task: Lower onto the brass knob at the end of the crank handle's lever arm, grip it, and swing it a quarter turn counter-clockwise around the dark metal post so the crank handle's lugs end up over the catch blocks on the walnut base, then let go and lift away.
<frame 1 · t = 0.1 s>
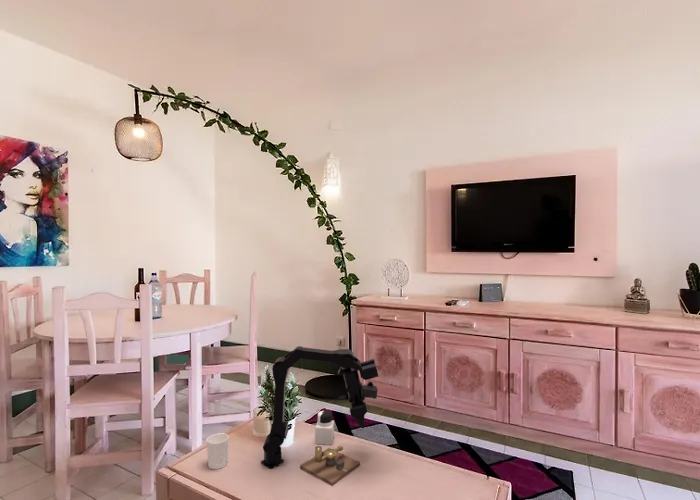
hand: (362, 422, 145), 15 cm above the table, tool pointing down, fingers open, 9 cm apart
post base: (330, 466, 141), on the table
crank handle: (329, 449, 141), point 7 cm above the table, hinge at 0.0°
medicine bottle: (324, 440, 161), on the table
white cup: (217, 465, 143), on the table
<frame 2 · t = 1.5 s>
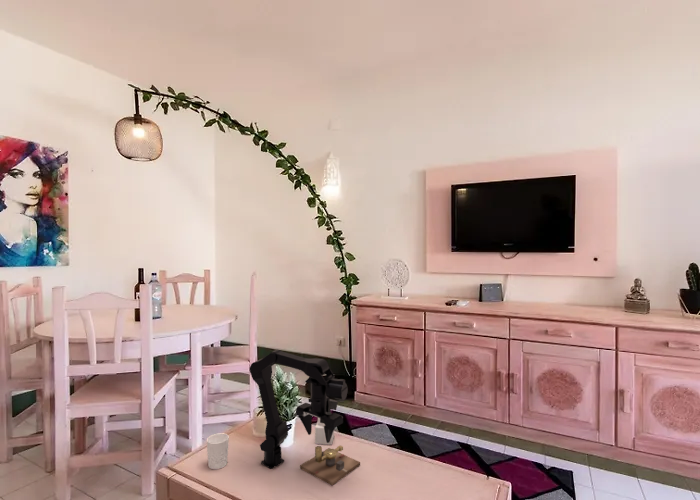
hand: (318, 438, 137), 13 cm above the table, tool pointing down, fingers open, 9 cm apart
nothing on the table moved.
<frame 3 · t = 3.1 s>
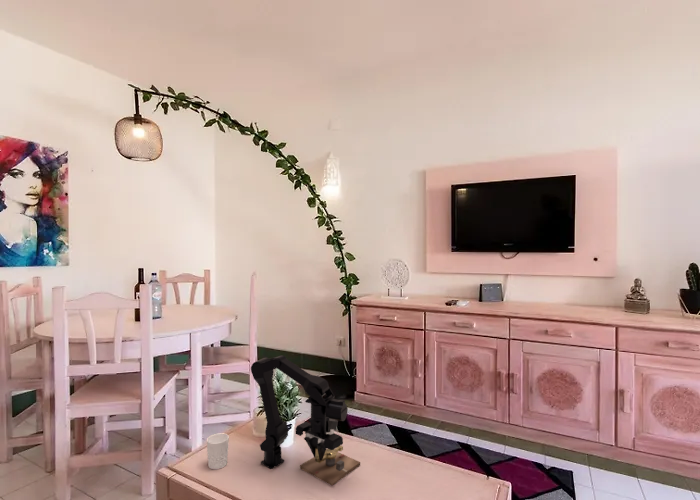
hand: (318, 458, 136), 6 cm above the table, tool pointing down, fingers closed on crank handle, 2 cm apart
crank handle: (329, 449, 141), point 7 cm above the table, hinge at 0.0°, touching gripper
everything else where it was.
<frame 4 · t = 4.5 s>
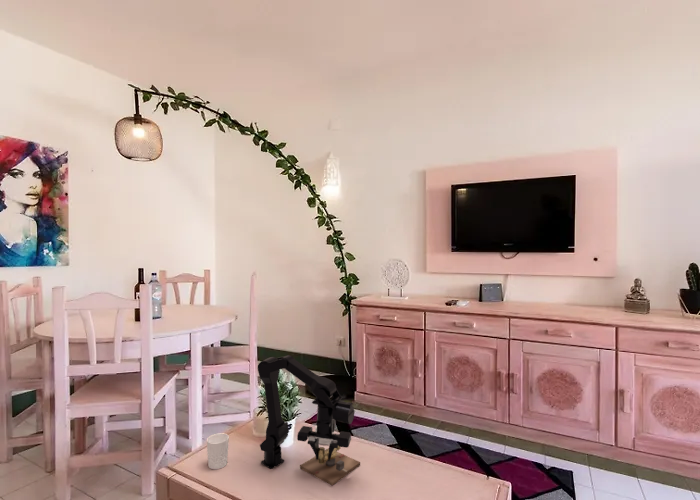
hand: (323, 459, 136), 6 cm above the table, tool pointing down, fingers open, 4 cm apart
crank handle: (329, 449, 141), point 7 cm above the table, hinge at 11.8°, touching gripper
everything else where it was.
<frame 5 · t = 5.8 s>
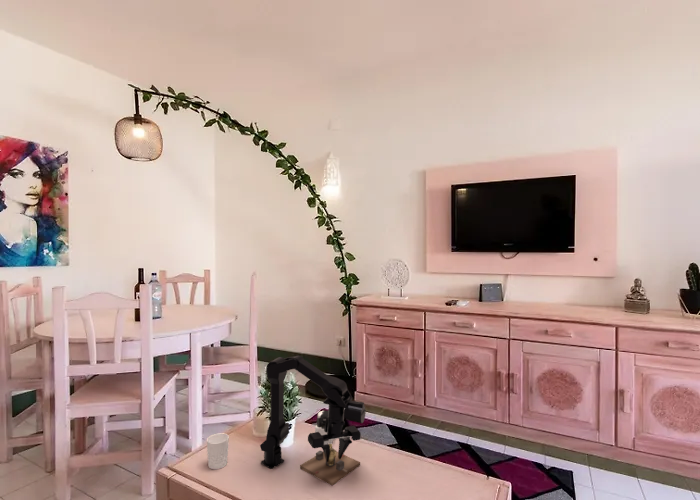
hand: (333, 459, 136), 6 cm above the table, tool pointing down, fingers open, 4 cm apart
crank handle: (330, 449, 141), point 7 cm above the table, hinge at 43.6°, touching gripper
everything else where it was.
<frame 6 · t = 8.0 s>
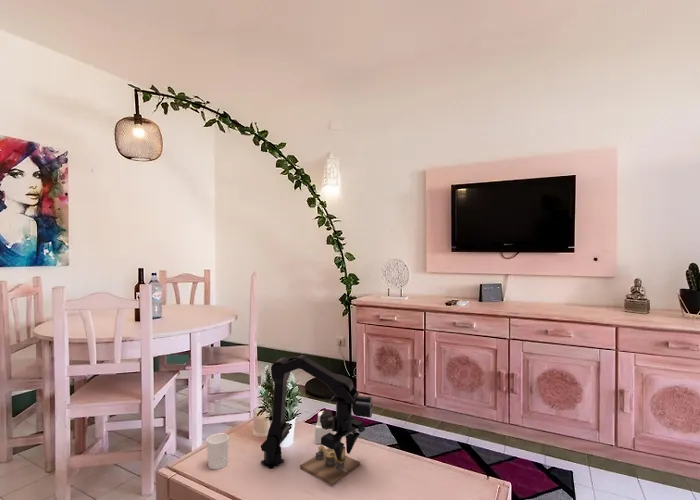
hand: (343, 456, 137), 6 cm above the table, tool pointing down, fingers open, 5 cm apart
crank handle: (331, 449, 141), point 7 cm above the table, hinge at 81.4°
everything else where it was.
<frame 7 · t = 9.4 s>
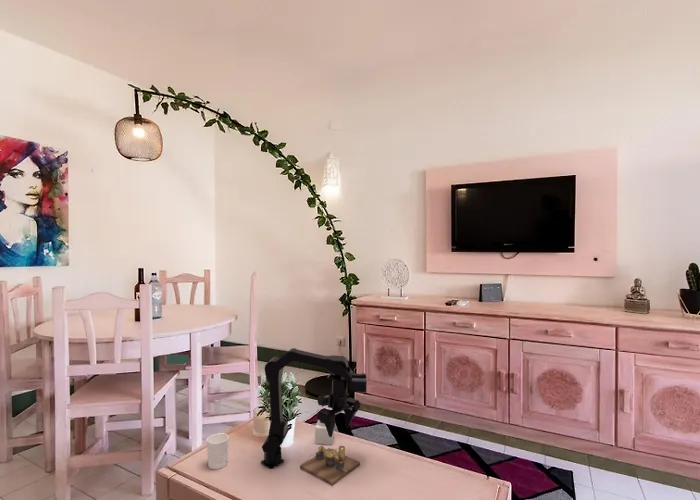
hand: (338, 432, 142), 13 cm above the table, tool pointing down, fingers open, 9 cm apart
nothing on the table moved.
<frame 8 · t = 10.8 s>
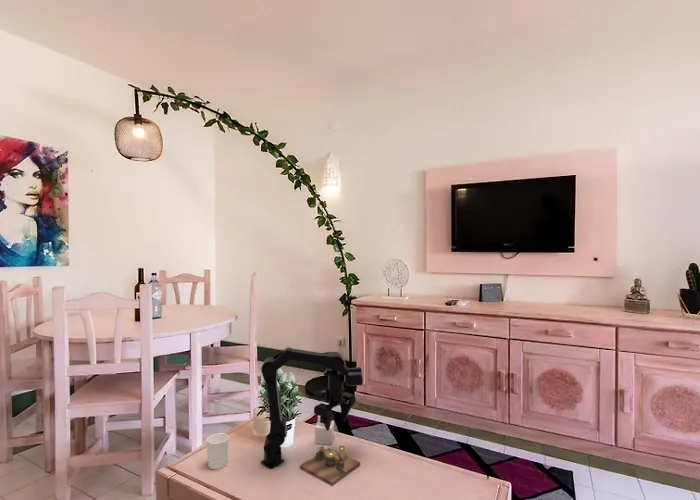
hand: (335, 426, 146), 13 cm above the table, tool pointing down, fingers open, 9 cm apart
nothing on the table moved.
at the end: crank handle at +81° (first picture: +0°); the gripper is holding nothing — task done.
